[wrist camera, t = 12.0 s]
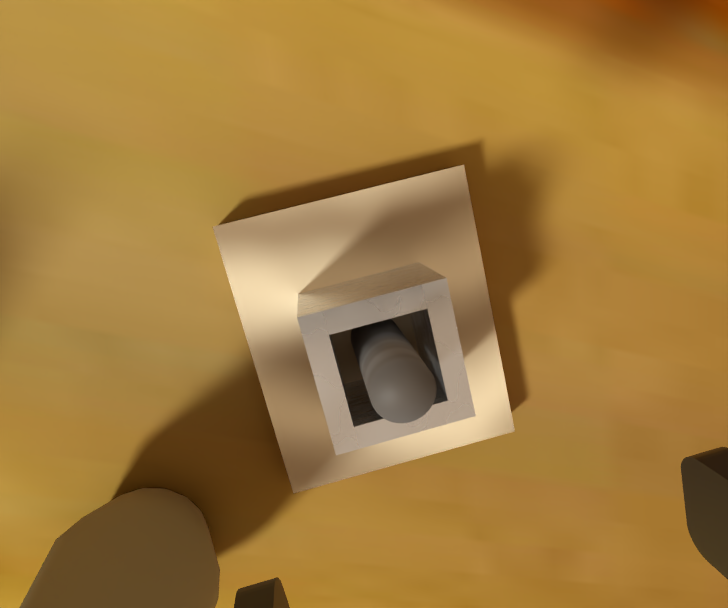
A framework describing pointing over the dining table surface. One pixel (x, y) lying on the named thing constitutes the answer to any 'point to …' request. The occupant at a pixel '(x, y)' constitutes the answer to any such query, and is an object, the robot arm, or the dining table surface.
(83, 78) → the dining table surface
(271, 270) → the stand
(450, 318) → the collar
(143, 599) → the squeeze bottle
